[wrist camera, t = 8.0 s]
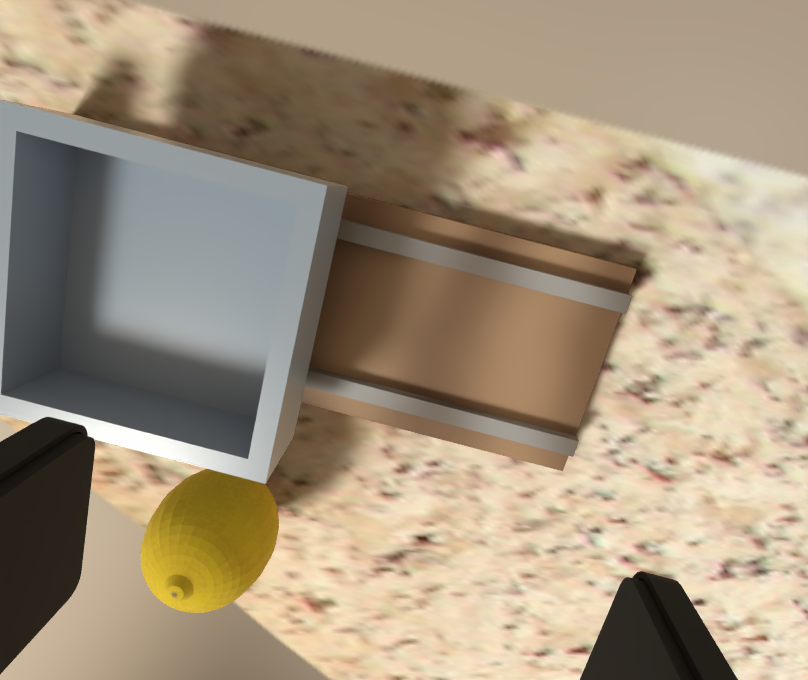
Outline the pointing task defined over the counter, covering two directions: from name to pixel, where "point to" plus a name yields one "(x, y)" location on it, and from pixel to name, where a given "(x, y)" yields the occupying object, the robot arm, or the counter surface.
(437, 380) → the track
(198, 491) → the lemon
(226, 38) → the counter surface
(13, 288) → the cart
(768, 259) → the counter surface
